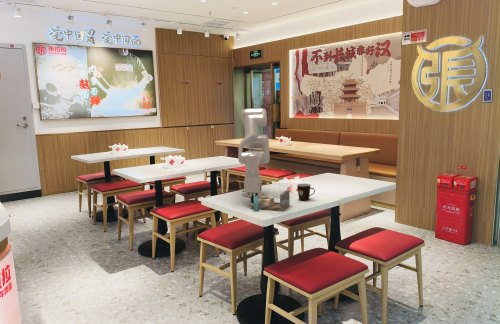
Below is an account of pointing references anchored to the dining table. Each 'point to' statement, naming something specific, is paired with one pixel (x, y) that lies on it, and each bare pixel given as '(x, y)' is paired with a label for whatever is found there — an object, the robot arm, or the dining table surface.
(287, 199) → the rail board
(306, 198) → the coffee mug
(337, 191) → the dining table surface
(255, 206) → the dowel
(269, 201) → the slider block
